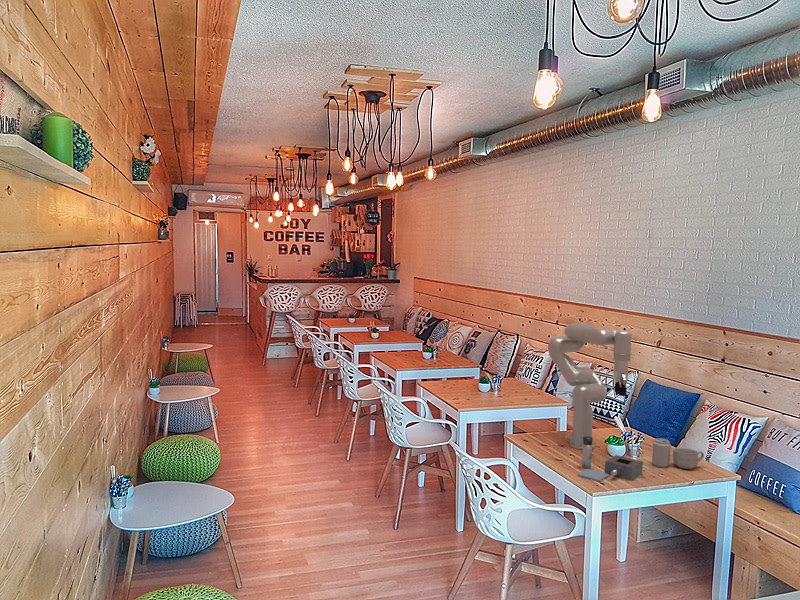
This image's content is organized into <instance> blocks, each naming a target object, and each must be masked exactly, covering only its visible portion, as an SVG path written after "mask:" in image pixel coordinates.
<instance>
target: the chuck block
mask: <svg viewBox="0 0 800 600" xmlns="http://www.w3.org/2000/svg"><path fill="white" fill-rule="evenodd" d="M604 463H605V464H604V473H606V474H610V475H609V476H612V477H613V476H614V477H617V478H620V477H621V478H620V479H625V480H627V481H628V480H629V481H633V480H635V479H636V478H638V477H640V476H641V475H642V474H643V461H642V460H637V459H634V458H629V457H625V456H621V455H617V454H615V455H614V456H612V457H610V458H609V459H607V460H605V461H604ZM640 474H641V475H640ZM637 476H638V477H637ZM634 478H635V479H634Z"/></svg>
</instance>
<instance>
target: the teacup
mask: <svg viewBox="0 0 800 600" xmlns="http://www.w3.org/2000/svg"><path fill="white" fill-rule="evenodd" d="M699 454H701V455H700V457H699ZM704 457H705V453H704V452H703V451H701V450H696V449H693V448H689V447H688V448H686V447H676V448H675V447H674V448H673V449H672V458H673V459H672V461H673V463H674V465H676V466H677V467H678V468H680V469H685V470H692V469H694V468H696V467H697V466H698V463H699V462H700V461H702V460H703V459H704Z"/></svg>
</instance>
